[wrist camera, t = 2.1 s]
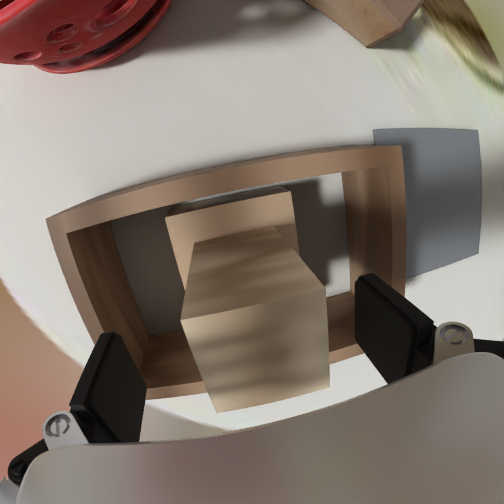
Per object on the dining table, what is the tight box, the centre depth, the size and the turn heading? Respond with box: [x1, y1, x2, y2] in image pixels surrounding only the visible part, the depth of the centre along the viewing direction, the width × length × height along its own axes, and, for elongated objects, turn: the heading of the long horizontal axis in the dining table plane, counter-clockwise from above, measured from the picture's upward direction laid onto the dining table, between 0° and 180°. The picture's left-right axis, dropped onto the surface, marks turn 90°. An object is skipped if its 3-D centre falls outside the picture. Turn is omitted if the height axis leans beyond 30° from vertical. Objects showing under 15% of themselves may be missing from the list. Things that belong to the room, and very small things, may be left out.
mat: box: [373, 128, 482, 279], centre depth 20 cm, size 12×12×1 cm
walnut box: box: [46, 145, 407, 400], centre depth 17 cm, size 18×12×6 cm, turn 101°
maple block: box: [180, 226, 330, 413], centre depth 13 cm, size 4×4×8 cm
